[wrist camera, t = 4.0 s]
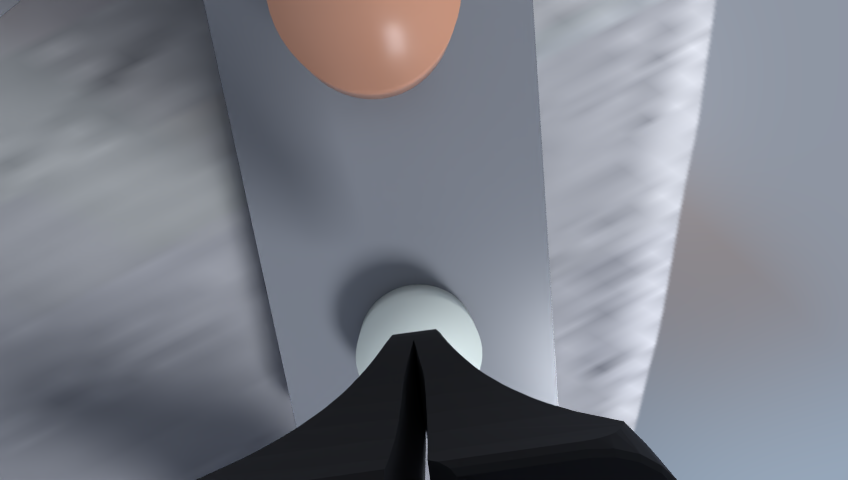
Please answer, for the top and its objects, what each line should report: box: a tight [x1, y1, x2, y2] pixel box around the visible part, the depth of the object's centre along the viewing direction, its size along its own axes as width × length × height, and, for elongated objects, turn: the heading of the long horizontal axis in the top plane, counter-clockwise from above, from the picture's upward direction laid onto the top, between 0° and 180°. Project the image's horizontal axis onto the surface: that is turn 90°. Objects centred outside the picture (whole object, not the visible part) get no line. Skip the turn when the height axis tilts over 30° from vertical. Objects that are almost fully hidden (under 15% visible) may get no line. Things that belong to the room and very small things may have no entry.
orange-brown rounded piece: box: [267, 0, 461, 99], centre depth 12 cm, size 5×5×4 cm
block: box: [203, 0, 558, 438], centre depth 17 cm, size 22×12×3 cm, turn 7°
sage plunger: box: [356, 284, 482, 376], centre depth 17 cm, size 5×5×4 cm
